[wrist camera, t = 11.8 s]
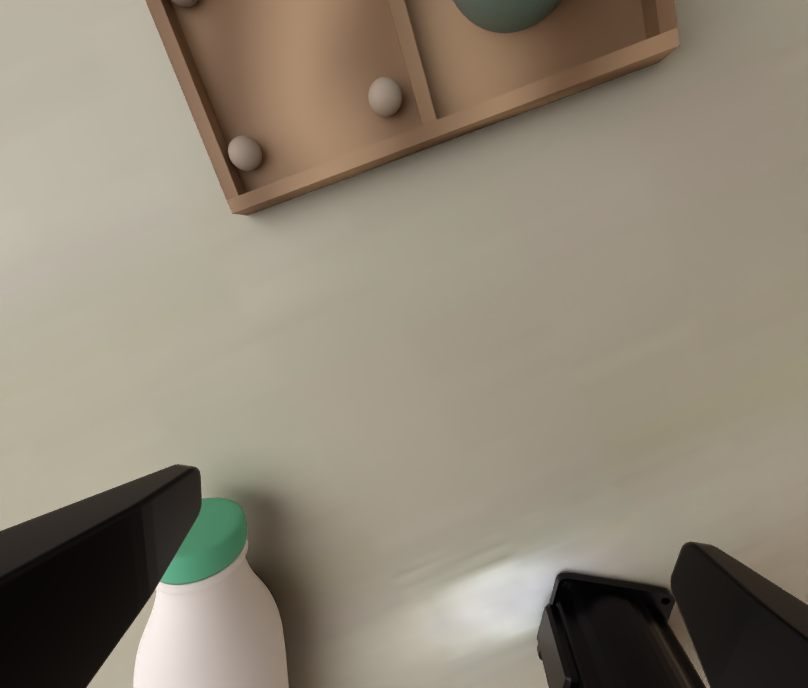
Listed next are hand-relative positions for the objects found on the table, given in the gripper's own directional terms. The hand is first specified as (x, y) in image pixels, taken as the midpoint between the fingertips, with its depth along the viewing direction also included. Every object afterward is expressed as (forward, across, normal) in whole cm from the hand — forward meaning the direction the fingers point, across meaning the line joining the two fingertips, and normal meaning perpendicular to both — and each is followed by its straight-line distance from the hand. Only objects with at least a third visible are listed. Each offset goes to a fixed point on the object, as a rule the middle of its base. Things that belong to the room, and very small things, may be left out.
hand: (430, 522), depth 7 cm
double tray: (+13, +4, -14) cm, 19 cm away
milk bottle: (+9, +9, +30) cm, 33 cm away
